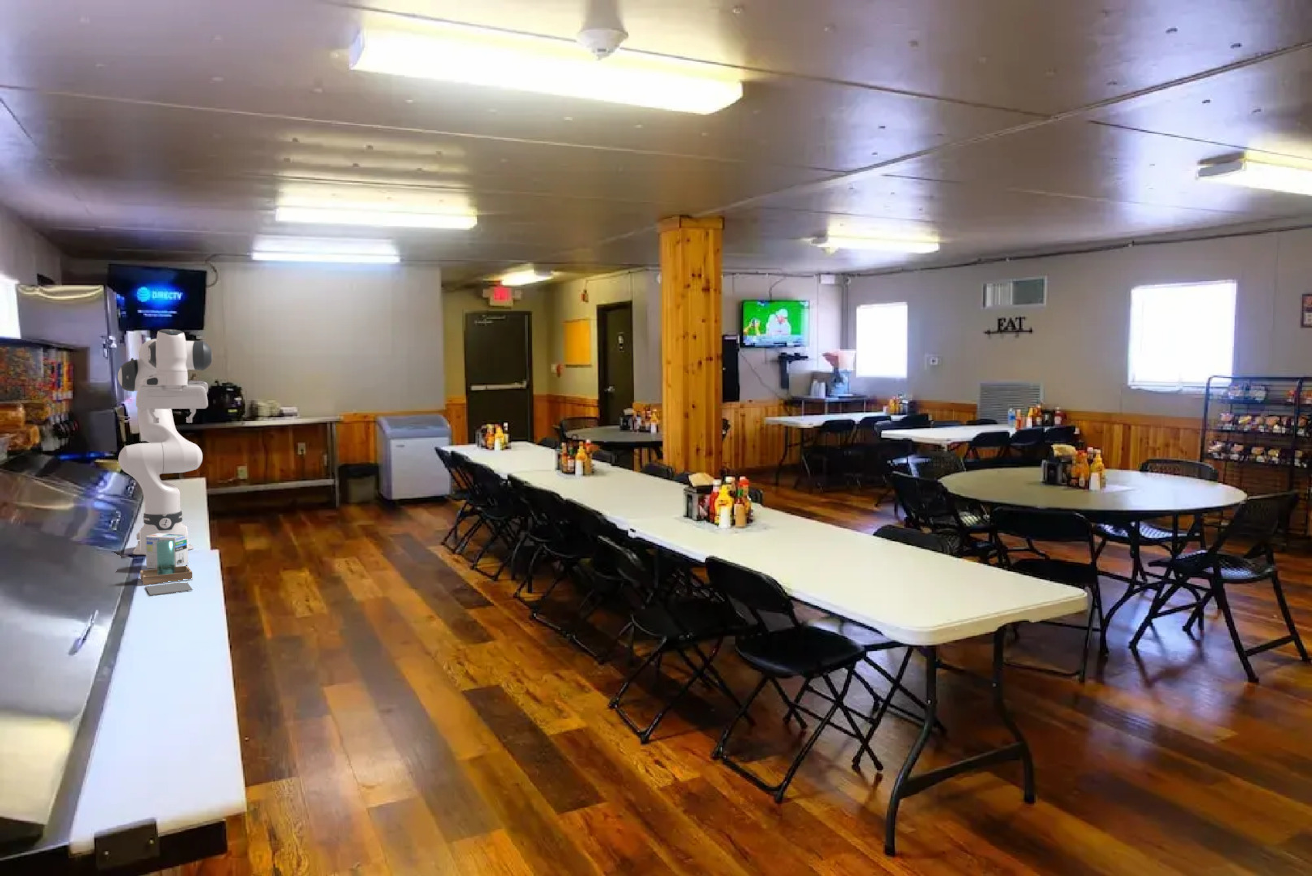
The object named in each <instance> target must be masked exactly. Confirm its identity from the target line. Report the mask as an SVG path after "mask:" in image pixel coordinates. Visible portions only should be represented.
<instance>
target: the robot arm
mask: <svg viewBox="0 0 1312 876" xmlns="http://www.w3.org/2000/svg"><path fill="white" fill-rule="evenodd" d="M138 357H139V358H138V359H136V358H135V359H134V358H133V357H131V358H130V360H127V361H125V362H124V363H123V364H122V365H120V367H119V371H118V373H117V381H118V383H119V385H120V387H121V389H123V390H124V391H128V392H136V396H135V397H136V398H135V407H136V408H137V421H138V428H139V433H140V436H141V437H142V439H143V440H145V442H142V443H141V442H140V443H139V442H138V443H134V444H130V445H125V446H124V447H123V448H122V449H121V450H120V451H119V455H118V459H117V460H118V465H119V467H120V469H121V470H122V471H123V472H124V473H126V474H128V475H129V476H130V477H133V479H135V481H136V482H137V483H138V485H139V486H140V488H141V491H142V494H143V501H144V502H143V504H144V513H143V517H142V519H143V522H142V523H143V526H142V528H140V529H139V532H137V533H136V540H137V544H136V546H135V548H134V550H133V551H132V554H133V555H144V556H146V536H149V535H153V534H157V533H169V534H187V536H189V535H188V534H189V533H188V526H186V525H185V524H184V523H183V522H182V521H183V516H184V515H183V511H182V510H181V491H180V490H179V488H178V487H177V486H175V485H173V483H172V484H171V483H169V482H167V481H164V480H162V479H161V477H160V475H162V474H174V473H175V474H177V473H178V474H179V473H186V472H191V471H194V470H195V471H196V470H197V469H199V468H200V466H201V464H202V463H203V455H204V454H203V452H202V449H201V448H200V447H199V446H198V444H196V443H193V442H192V441H189V440H188V439H186V438H185V437H183V436H182V435H181V434H180V433H179V432H178V431H177V428H176V425H175V421H174V416H173V409H174V410H175V409H176V410H177V409H179V410H182V409H186V410H187V409H189V412H190V415H189V416H186V418H185V419H186V422H185V423H188V424H190V423H191V424H192V423H193V418H194V416H195V415H196V413H197V409H201V410H202V409H207V408H208V407H209V400H208V396H207V395H208V392H209V384H208V383H207V382H205V381H204V380H195V379H194V380H193V379H191V380H189V376H188V375H189V373H188V371H190V370H191V371H192V370H193V371H201V372H203V371H205V370H206V369H208V368H209V366H211V364H212V360H213V352H212V348H211V346H210V345H209V344H208V343H207V342H205V341H204V340H187V339H186V335H185V332H184V331H181V330H178V329H171V328H170V329H169V328H168V329H167V328H165V329H164V328H163V329H160V330H157V334H156V338H153V339H149V340H147V341H145V342H143V344H142V345H141V346H140V347H139V351H138ZM194 547H195V546H194V545H193V544H190V543H188V551H189V550H193V549H194Z"/></svg>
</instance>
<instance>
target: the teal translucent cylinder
mask: <svg viewBox="0 0 1312 876" xmlns="http://www.w3.org/2000/svg"><path fill="white" fill-rule="evenodd" d="M156 569H157V575H165V574H174V573H175V550H174V540H160V541H157V568H156Z"/></svg>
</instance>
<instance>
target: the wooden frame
mask: <svg viewBox="0 0 1312 876" xmlns="http://www.w3.org/2000/svg"><path fill="white" fill-rule="evenodd" d="M139 574H140V575H139V577H140V578H141V579H140V580H141V582H142V581H143V582H142V584H143V585H144V586H150V585H149V584H151V585H158V584H157V583H160V584H164V583H163V582H168V581H177V582H179V581H178V580H183V579H191V578H192V579H193V571H192V570H191V568H190V567H189V565H187V566H178V567H175V573H174V574H165V575H157V568H149V569H142V570H139ZM168 583H169V582H168Z"/></svg>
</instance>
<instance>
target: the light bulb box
mask: <svg viewBox="0 0 1312 876" xmlns="http://www.w3.org/2000/svg"><path fill="white" fill-rule="evenodd" d="M188 536H189V535H188ZM188 536H187V534H169V533H157V534H153V535H149V536H146V555H145V560H146V562H145V563H146V568H147V569H157V541H160V540H174V550H175V567H178V566H183V565H186V564H188V565H189V550H188V544H189V537H188Z"/></svg>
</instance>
